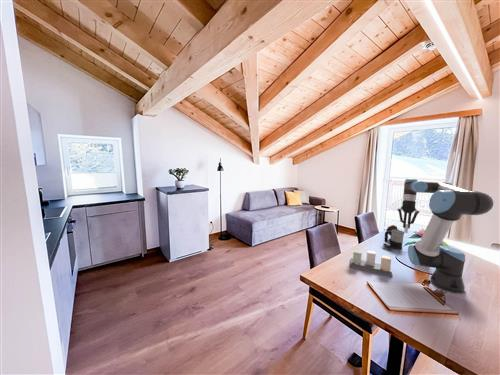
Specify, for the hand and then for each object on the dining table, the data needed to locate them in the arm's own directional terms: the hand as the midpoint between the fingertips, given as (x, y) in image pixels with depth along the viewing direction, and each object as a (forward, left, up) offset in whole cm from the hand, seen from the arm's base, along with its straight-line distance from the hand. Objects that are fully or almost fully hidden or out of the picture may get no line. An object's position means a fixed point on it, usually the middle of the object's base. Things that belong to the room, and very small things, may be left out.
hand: (405, 232), depth 151 cm
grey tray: (+5, +29, -23) cm, 38 cm away
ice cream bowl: (+30, -39, -23) cm, 54 cm away
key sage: (+10, +36, -21) cm, 43 cm away
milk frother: (+19, -20, -23) cm, 36 cm away
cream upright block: (+6, +28, -21) cm, 36 cm away
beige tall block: (-3, +26, -21) cm, 34 cm away
